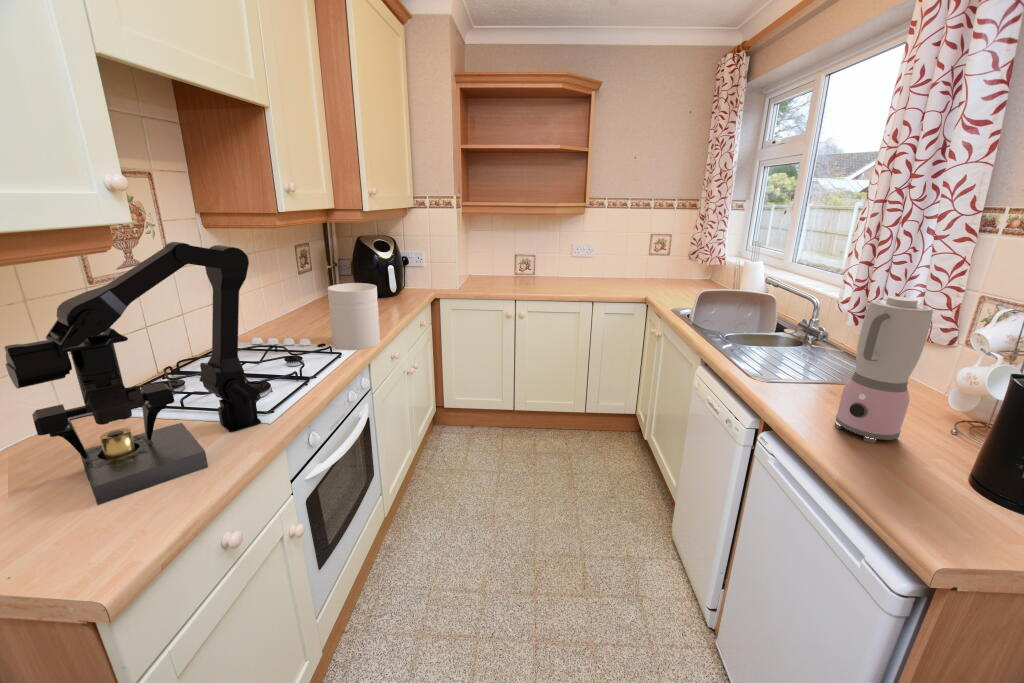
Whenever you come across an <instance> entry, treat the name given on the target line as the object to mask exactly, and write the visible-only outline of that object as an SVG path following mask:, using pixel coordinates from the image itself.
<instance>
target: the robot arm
mask: <svg viewBox="0 0 1024 683" xmlns="http://www.w3.org/2000/svg"><path fill="white" fill-rule="evenodd" d="M187 265H193V266H200V267H201V266H202V267H205V272H206V275H207V279H208V280H209V283H210V286H211V287H212V323H211V325H212V326H211V327H212V329H211V330H212V334H211V335H212V336H211V337H212V338H211V340H212V341H211V346H212V347H211V356H210V358H209V360H208V362H200V364H199V365H200V366H199V367H200V373H201V374H200V378H199V382H200V383H202V384H203V388H204V389H206V390H207V391H208V392H210V393H212V394H214V396H215V397H217V398H219V400H218V401H219V407H217V412H218V418H219V424H220V425H221V426H222V427H223V428H225V429H226V430H227V431H228V432H229V433H233V432H236V431H239V430H243V429H246V428H250V427H252V426H256V425H260V424H262V420H261V419H260V418H259V416H258V412H257V411H258V409H257V405H256V401H258V399H259V393H260V391H259V390H260V389H257V388H255V387H253V386H251V385H250V384H247V382H246V376H245V370H244V367H243V365H242V363H241V359H239V314H240V309H239V308H240V307H239V306H240V290H241V288H242V286H243V284H245V281H246V279H247V275H248V271H249V267H250V262H249V257H248V255H247V254H246V253H245V251H244V250H242V249H240V248H238V247H234V246H227V245H220V244H218V245H216V244H215V245H213V246H210V247H209V248H208V247H201V246H196V245H191V244H188V243H184V242H179V241H171V242H168V243H167V244H165V245H164V247H162V248H161V249H160V250H158V251H157V252H156V253H154V254H152V255H150V256H148V258H146V259H145V260H143V261H141V262H140V263H138V264H137V265H135V266H134V267H131V269H129V270H127V271H126V272H124V273H123V274H121V275H120V276H118V277H117V278H115V279H113V280H112V281H110V282H109V283H108V284H107V283H106V284H105V285H102V286H100V287H96V288H93V289H91V290H87V291H84V292H82V293H80V294H77V295H75V296H73V297H70V298H68V299H66V300H64V301H62V303H60V304H59V305H58V307H56V308H57V309H56V318H57V320H56V321H55V322H54V323H53V325H52V327H51V329H50V330H49V331H48V332H47V335H46V336H45V340H40V341H35V342H33V341H32V342H28V343H23V344H22V343H16V344H9V345H5V346H4V351H5V360H6V363H5V368H6V371H7V372H8V376H9V378H10V381H11V382H12V384H13V385H14V387H15V388H16V389H22V388H26V387H32V386H35V385H40V384H44V383H49V382H54V381H58V380H63V379H65V378H66V376H67V375H70V374H71V373H70V371H72V369H73V368H74V370H75V374H76V379H77V381H78V386H79V389H80V392H81V395H82V400H83V403H84V405H82V406H78V407H73V408H68V409H65V406H64V404H63V403H61V404H58V405H52V406H48V407H43V408H38V409H36V410H34V411H33V413H32V414H31V415H32V419H33V420H32V421H33V423H34V427H35V430H36V435H37V436H45V435H49V436H50V437H51V438H52V437H53V438H55V437H61V438H63V440H65V441H67V443H69V444H70V445H71V446H72V447H73V448H74V449H75V450H76V451H77V453H78V454H79V455H80V457H81V456H82V457H83V458H84V459H86V458H87V455H86V451H85V449H86V448H85V447H84V445H83V442H82V441H81V439H80V436H79V434H78V433H77V430H76V429H75V427H74V425H73V423H72V421H74V420H79V419H81V418H87V417H90V416H93V419H94V421H95V424H97V425H100V426H101V425H102V426H103V425H107V424H110V423H111V422H115V421H119V420H126V419H129V418H131V417H132V415H133V413H132V412H133V411H132V410H137V409H139V408H140V407H141V409H142V415H143V416H142V417H143V426H144V433H146V436H147V439H148V441H149V440H151V437H152V433H153V430H154V427H155V423H156V420H157V417H158V415H159V413H160V412H161V411H163V410H165V409H166V408H167V406H168V405H171V404H173V403H175V398H174V394H173V391H172V389H171V388H170V387H169V386H168V384H166V383H164V382H159V383H154V384H153V383H152V384H149V385H148V384H147V385H145V386H139V385H138V386H133V387H126V386H125V385H124V380H123V376H122V372H121V369H120V364H119V360H118V356H117V353H116V348H115V344H117V343H118V344H119V343H121V342H127V341H128V340H129V337H127V336H125V335H123V334H121V333H119V332H118V331H117V330H115V329H114V328H112V326H113V325H114V324H115V323H116V322H117V321H118V320H119V319H120V318H121V317H122V315H123V314H124V312H125V311H126V309H127V308H128V306H129V305H131V303H132V302H134V301H135V300H137V299H138V298H140V297H141V296H143V295H144V294H145V293H148V291H150V290H151V289H153V288H155V286H157V285H159V284H160V283H162V282H163V281H164V280H165V279H167V278H169V277H171V276H172V275H174V274H175V273H176V272H178V271H179V270H180V269H182V268H183V267H185V266H187ZM69 353H70V355H71V357H70V356H69ZM70 358H71V359H70ZM71 360H72V362H71ZM72 364H73V365H72ZM72 366H74V367H72Z"/></svg>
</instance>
